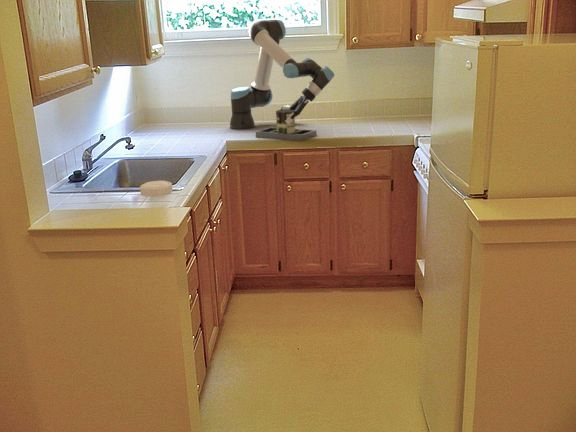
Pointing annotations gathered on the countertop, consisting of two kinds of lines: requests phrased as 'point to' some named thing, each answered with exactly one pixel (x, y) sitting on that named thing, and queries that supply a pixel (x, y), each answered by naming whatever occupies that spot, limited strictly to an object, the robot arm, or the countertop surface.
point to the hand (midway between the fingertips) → (284, 121)
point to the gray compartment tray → (287, 134)
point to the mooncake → (156, 188)
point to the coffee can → (284, 121)
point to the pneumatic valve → (286, 107)
